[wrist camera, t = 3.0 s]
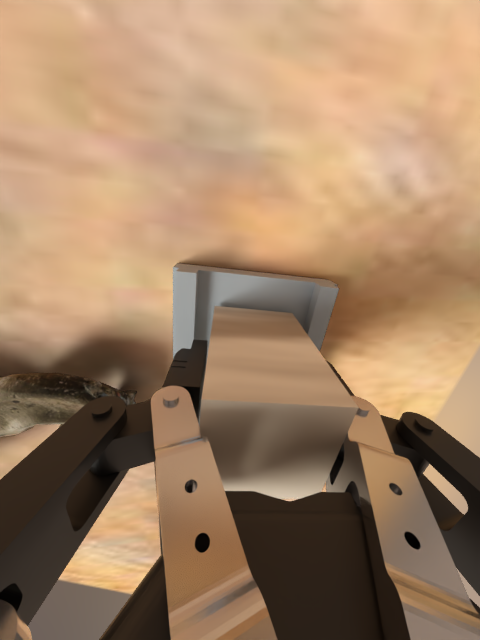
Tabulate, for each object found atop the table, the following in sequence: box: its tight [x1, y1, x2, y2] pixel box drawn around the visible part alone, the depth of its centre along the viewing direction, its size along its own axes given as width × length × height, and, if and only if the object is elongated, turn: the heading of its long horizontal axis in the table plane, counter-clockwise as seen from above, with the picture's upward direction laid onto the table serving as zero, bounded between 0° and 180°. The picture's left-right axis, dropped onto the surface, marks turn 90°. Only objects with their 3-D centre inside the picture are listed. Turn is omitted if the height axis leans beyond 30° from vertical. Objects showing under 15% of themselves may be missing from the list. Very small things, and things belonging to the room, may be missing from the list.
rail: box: [173, 263, 339, 427], centre depth 15 cm, size 23×9×6 cm, turn 173°
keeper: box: [200, 306, 359, 499], centre depth 10 cm, size 4×4×7 cm
